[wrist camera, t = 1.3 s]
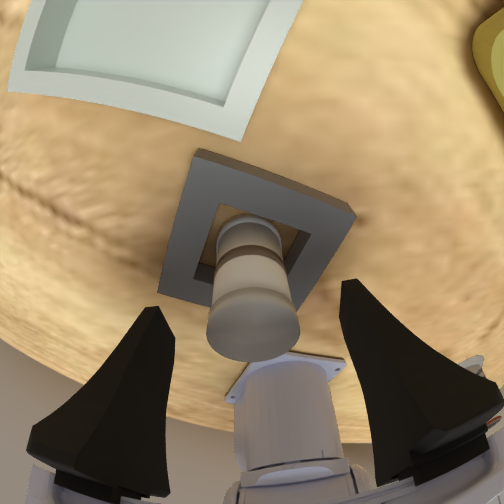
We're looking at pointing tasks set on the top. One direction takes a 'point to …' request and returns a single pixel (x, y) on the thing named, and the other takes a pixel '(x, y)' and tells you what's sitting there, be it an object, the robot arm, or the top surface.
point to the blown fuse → (251, 293)
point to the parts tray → (155, 56)
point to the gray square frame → (256, 202)
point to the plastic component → (491, 54)
